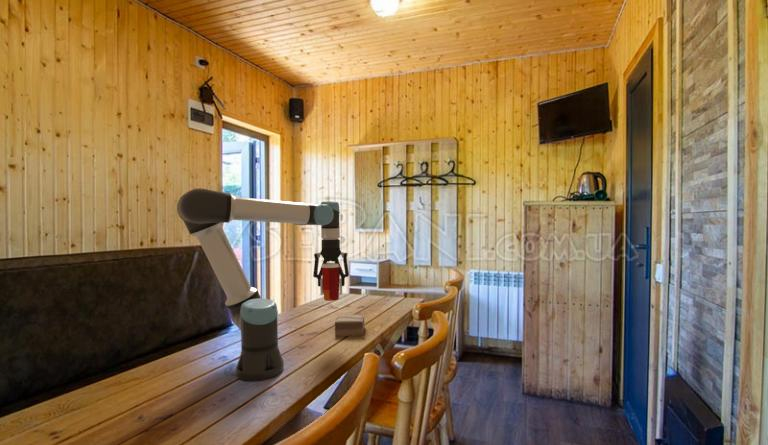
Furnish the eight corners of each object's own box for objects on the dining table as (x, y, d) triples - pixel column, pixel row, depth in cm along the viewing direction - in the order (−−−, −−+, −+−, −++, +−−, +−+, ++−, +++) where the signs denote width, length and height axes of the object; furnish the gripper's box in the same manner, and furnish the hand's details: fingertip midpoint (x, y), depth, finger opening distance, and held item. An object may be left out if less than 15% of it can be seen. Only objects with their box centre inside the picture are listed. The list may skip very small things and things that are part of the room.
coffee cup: (343, 297, 155) (342, 261, 155) (338, 301, 147) (338, 264, 147) (323, 297, 156) (323, 262, 156) (318, 301, 147) (317, 264, 147)
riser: (362, 335, 158) (362, 321, 158) (335, 336, 158) (334, 321, 158) (364, 327, 170) (364, 314, 170) (338, 327, 170) (338, 314, 170)
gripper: (355, 238, 155) (356, 292, 155) (308, 238, 155) (309, 292, 155) (354, 238, 147) (354, 295, 147) (304, 239, 147) (305, 296, 147)
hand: (331, 294), depth 151 cm, fingers closed on coffee cup, 7 cm apart
